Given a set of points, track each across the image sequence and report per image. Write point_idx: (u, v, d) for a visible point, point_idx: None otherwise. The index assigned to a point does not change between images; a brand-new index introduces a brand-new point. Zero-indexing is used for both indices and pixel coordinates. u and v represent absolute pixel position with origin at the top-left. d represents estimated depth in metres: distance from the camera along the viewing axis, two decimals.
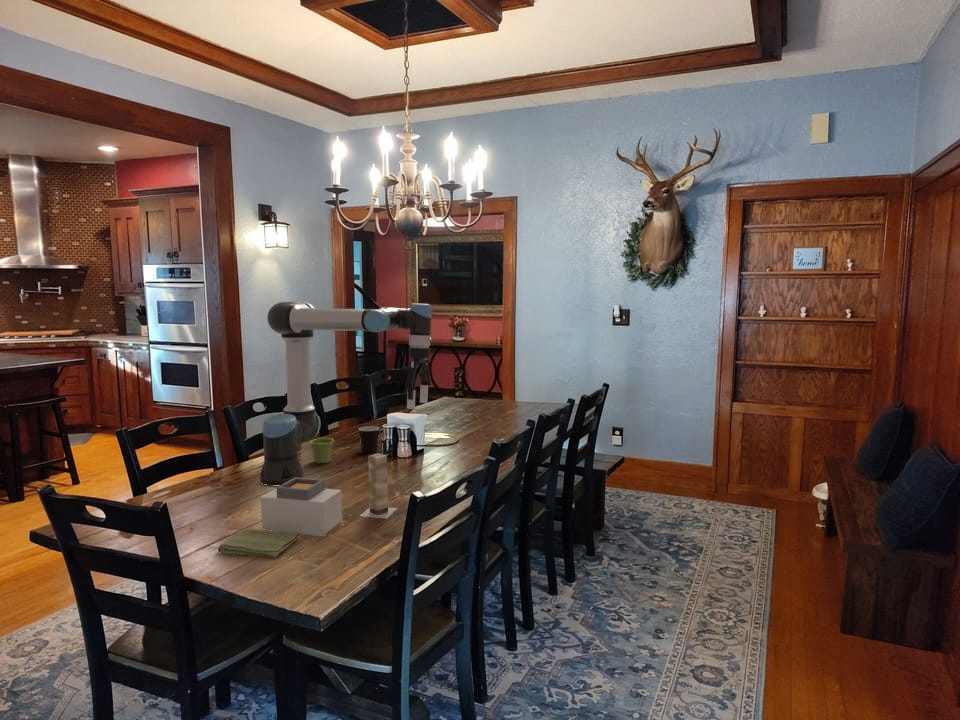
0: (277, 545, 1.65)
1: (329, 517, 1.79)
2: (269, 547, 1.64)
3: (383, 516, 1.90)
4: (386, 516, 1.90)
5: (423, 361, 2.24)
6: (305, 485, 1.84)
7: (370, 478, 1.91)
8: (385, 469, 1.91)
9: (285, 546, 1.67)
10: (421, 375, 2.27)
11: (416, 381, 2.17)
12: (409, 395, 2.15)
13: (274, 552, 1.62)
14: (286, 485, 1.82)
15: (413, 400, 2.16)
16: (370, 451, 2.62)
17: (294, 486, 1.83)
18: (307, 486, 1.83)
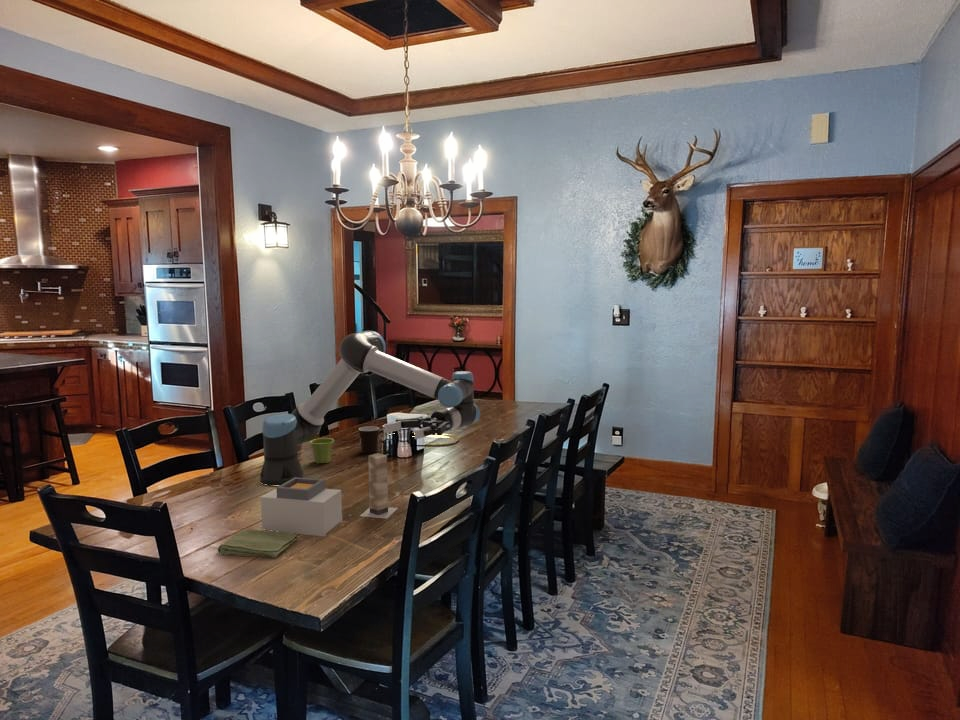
0: (277, 545, 1.65)
1: (329, 517, 1.79)
2: (269, 547, 1.64)
3: (383, 516, 1.90)
4: (386, 516, 1.90)
5: None
6: (305, 485, 1.84)
7: (370, 478, 1.91)
8: (385, 469, 1.91)
9: (285, 546, 1.67)
10: (414, 423, 2.09)
11: None
12: (429, 432, 1.97)
13: (274, 552, 1.62)
14: (286, 485, 1.82)
15: (422, 436, 1.96)
16: (370, 451, 2.62)
17: (294, 486, 1.83)
18: (307, 486, 1.83)
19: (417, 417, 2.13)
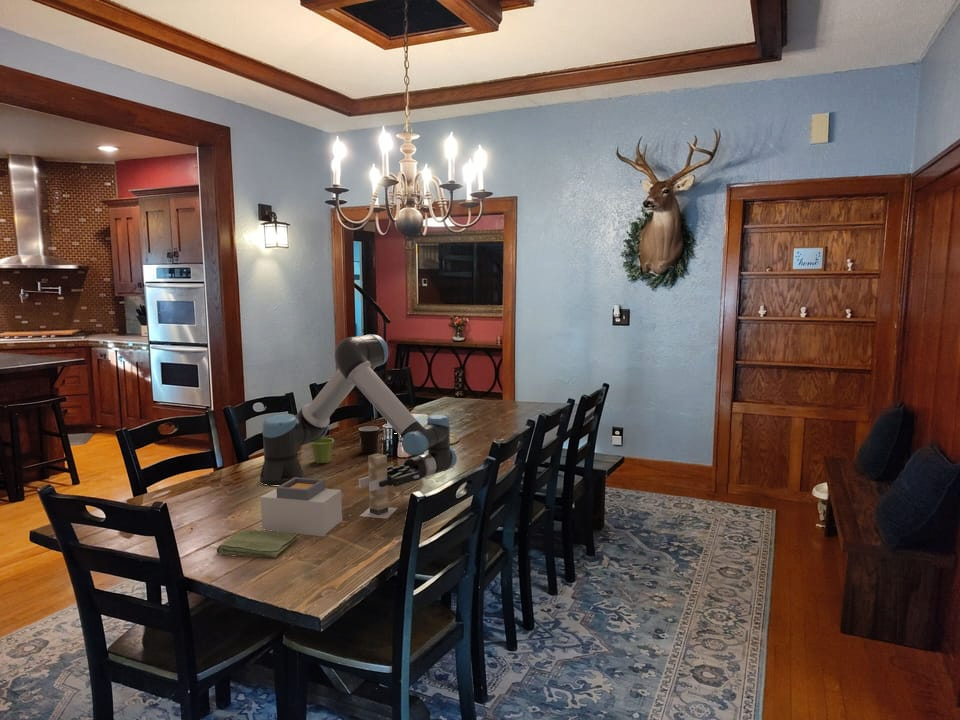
0: (277, 545, 1.65)
1: (329, 517, 1.79)
2: (268, 547, 1.64)
3: (383, 516, 1.90)
4: (386, 516, 1.90)
5: None
6: (305, 485, 1.84)
7: (370, 478, 1.91)
8: (385, 469, 1.91)
9: (284, 546, 1.67)
10: (389, 473, 1.98)
11: None
12: (385, 483, 1.89)
13: (274, 552, 1.62)
14: (286, 485, 1.82)
15: (378, 487, 1.89)
16: (370, 451, 2.62)
17: (294, 486, 1.83)
18: (307, 486, 1.83)
19: (388, 466, 2.03)
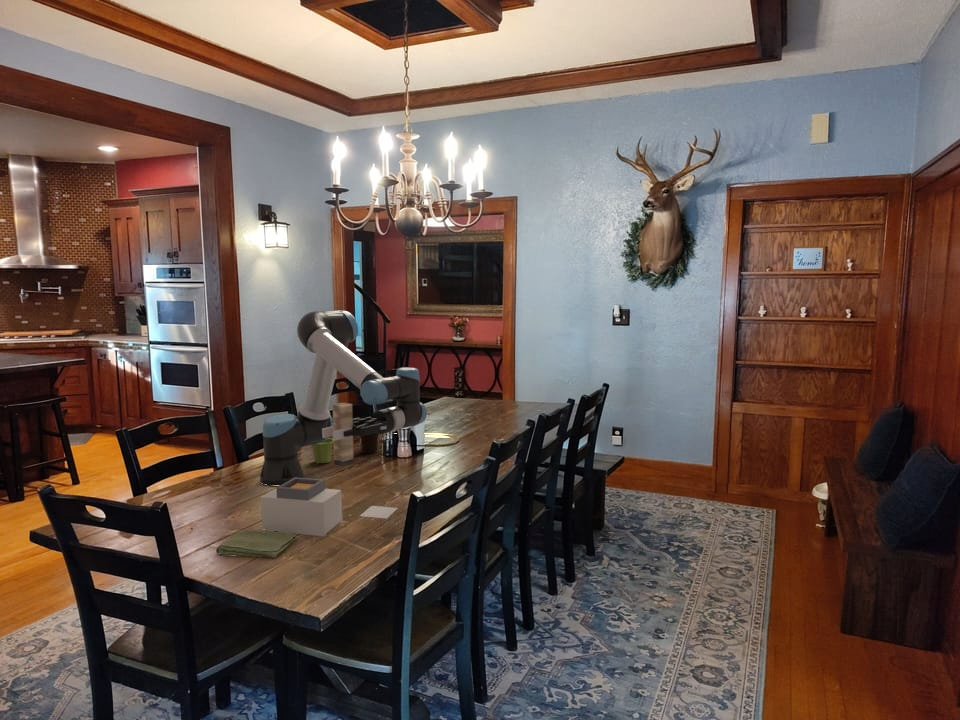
0: (276, 545, 1.65)
1: (329, 517, 1.79)
2: (268, 547, 1.64)
3: (383, 516, 1.90)
4: (386, 516, 1.90)
5: None
6: (305, 485, 1.84)
7: (334, 428, 1.83)
8: (350, 419, 1.83)
9: (284, 546, 1.67)
10: (355, 425, 1.90)
11: None
12: (350, 433, 1.81)
13: (273, 552, 1.62)
14: (286, 485, 1.82)
15: (342, 437, 1.80)
16: (370, 451, 2.62)
17: (294, 486, 1.83)
18: (307, 486, 1.83)
19: (354, 418, 1.95)
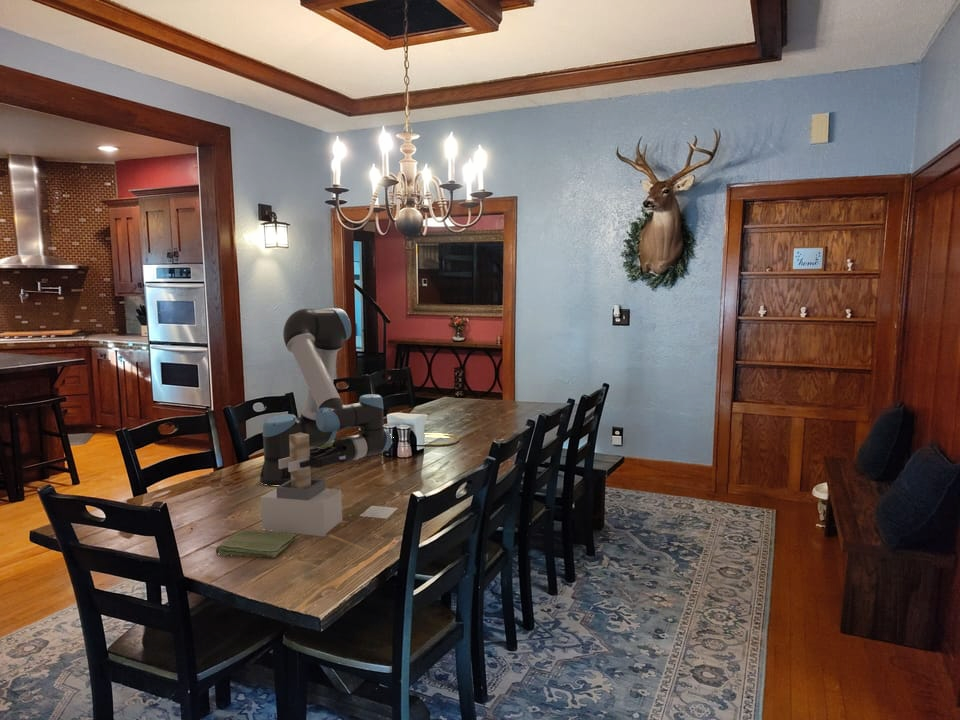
0: (276, 545, 1.65)
1: (329, 517, 1.79)
2: (268, 547, 1.64)
3: (383, 516, 1.90)
4: (386, 516, 1.90)
5: None
6: None
7: (291, 459, 1.81)
8: (307, 449, 1.81)
9: (284, 546, 1.67)
10: (314, 454, 1.87)
11: None
12: (306, 464, 1.79)
13: (273, 552, 1.62)
14: (286, 485, 1.82)
15: (298, 468, 1.78)
16: None
17: None
18: None
19: (315, 447, 1.93)
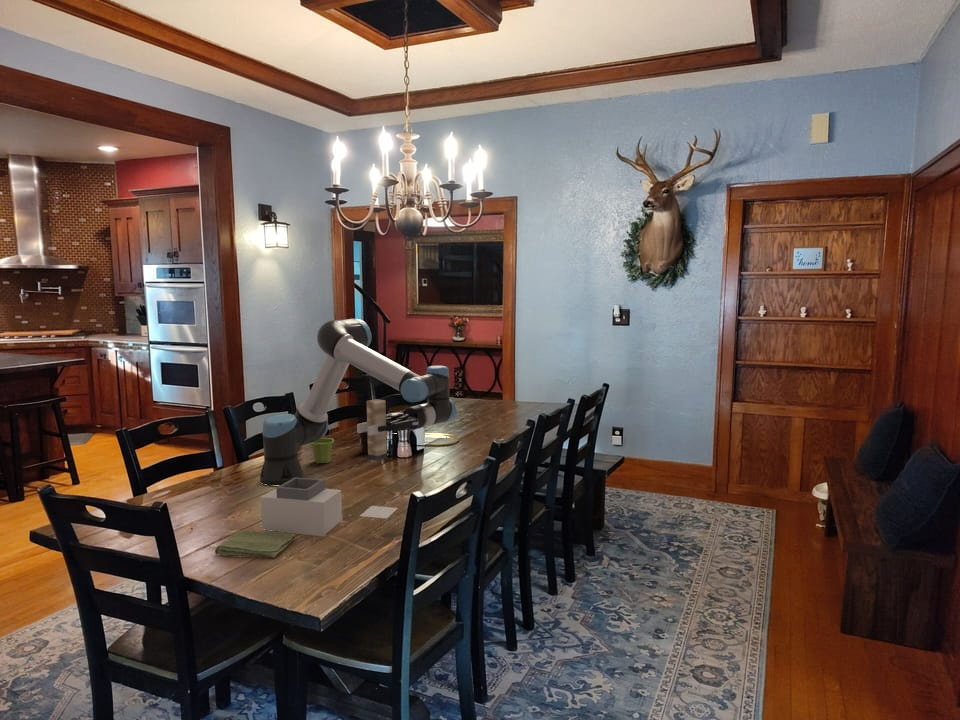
0: (276, 545, 1.65)
1: (329, 517, 1.79)
2: (268, 548, 1.64)
3: (383, 516, 1.90)
4: (386, 516, 1.90)
5: None
6: None
7: (368, 423, 1.89)
8: (384, 414, 1.89)
9: (283, 546, 1.67)
10: (388, 421, 1.96)
11: None
12: (384, 428, 1.87)
13: (273, 552, 1.62)
14: (286, 485, 1.82)
15: (376, 432, 1.87)
16: None
17: None
18: None
19: None
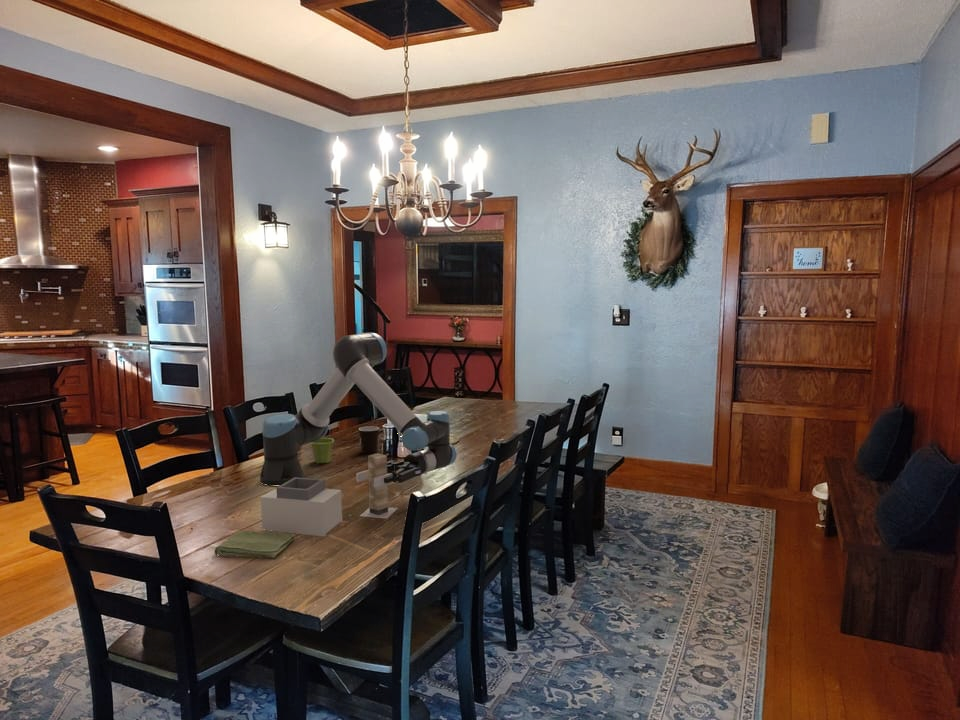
0: (275, 545, 1.65)
1: (329, 517, 1.79)
2: (267, 548, 1.64)
3: (383, 516, 1.90)
4: (386, 516, 1.90)
5: None
6: None
7: (370, 478, 1.91)
8: (385, 469, 1.91)
9: (283, 546, 1.66)
10: (388, 468, 1.99)
11: None
12: (390, 479, 1.88)
13: (273, 553, 1.62)
14: (286, 485, 1.82)
15: (383, 483, 1.88)
16: (370, 451, 2.62)
17: None
18: None
19: (388, 461, 2.04)
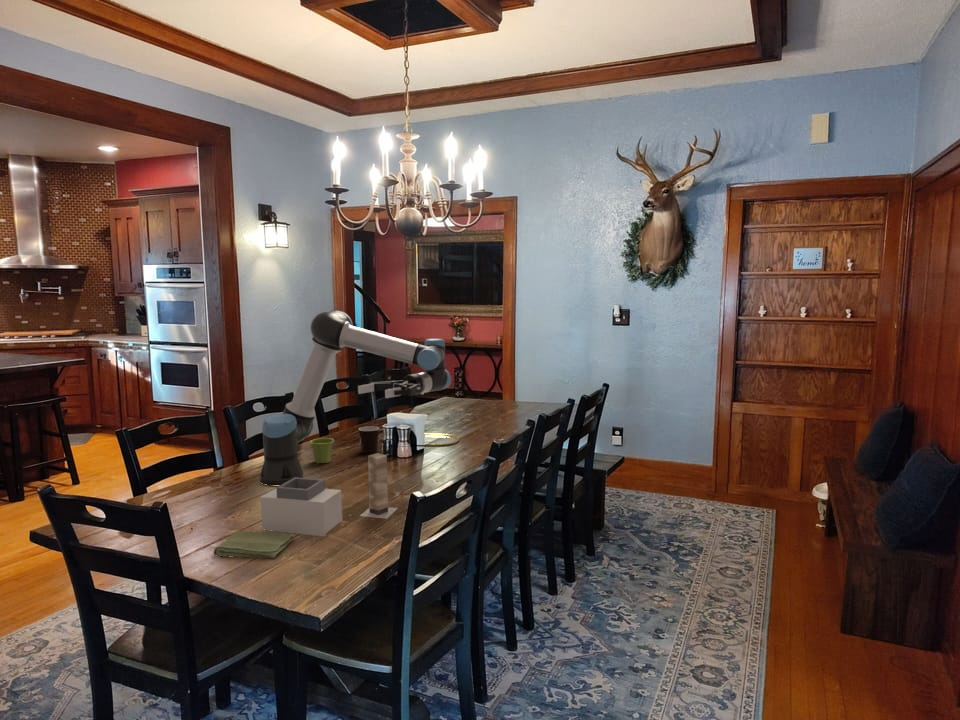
0: (275, 545, 1.65)
1: (329, 517, 1.79)
2: (267, 548, 1.63)
3: (383, 516, 1.90)
4: (386, 516, 1.90)
5: None
6: None
7: (370, 478, 1.91)
8: (385, 469, 1.91)
9: (282, 546, 1.66)
10: (386, 385, 2.19)
11: None
12: (399, 392, 2.07)
13: (272, 553, 1.62)
14: (286, 485, 1.82)
15: (393, 396, 2.07)
16: (370, 451, 2.62)
17: None
18: None
19: (390, 381, 2.24)
